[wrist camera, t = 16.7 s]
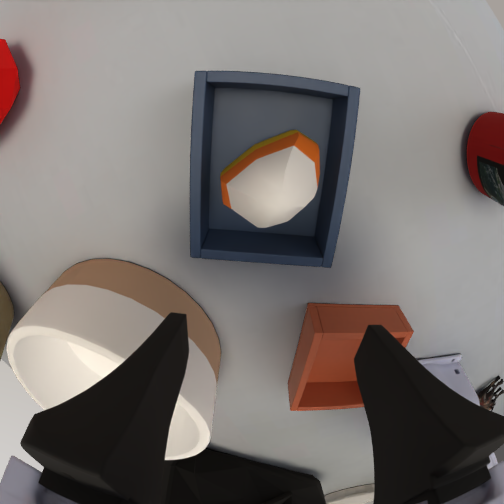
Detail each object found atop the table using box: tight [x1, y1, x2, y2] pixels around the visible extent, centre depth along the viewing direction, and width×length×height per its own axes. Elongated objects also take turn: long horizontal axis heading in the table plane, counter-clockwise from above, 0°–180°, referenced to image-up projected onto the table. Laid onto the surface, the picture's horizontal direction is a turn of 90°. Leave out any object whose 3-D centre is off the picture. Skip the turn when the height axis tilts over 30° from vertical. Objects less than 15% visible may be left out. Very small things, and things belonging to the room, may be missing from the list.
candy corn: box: [220, 130, 320, 228], centre depth 13 cm, size 6×3×8 cm, turn 121°
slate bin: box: [190, 71, 360, 268], centre depth 15 cm, size 8×10×3 cm
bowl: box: [7, 259, 221, 460], centre depth 20 cm, size 17×17×8 cm
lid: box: [324, 483, 375, 504], centre depth 50 cm, size 17×20×3 cm
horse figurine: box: [478, 376, 504, 411], centre depth 29 cm, size 9×4×15 cm
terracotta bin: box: [288, 303, 414, 411], centre depth 22 cm, size 8×10×3 cm
